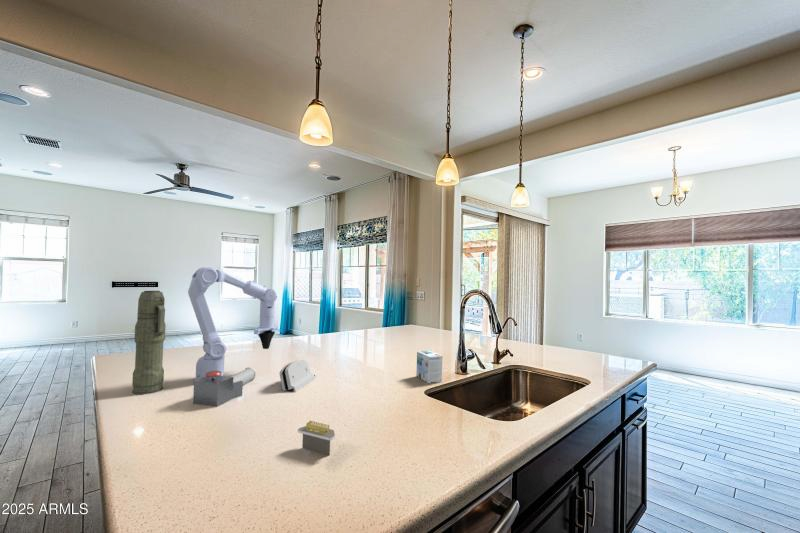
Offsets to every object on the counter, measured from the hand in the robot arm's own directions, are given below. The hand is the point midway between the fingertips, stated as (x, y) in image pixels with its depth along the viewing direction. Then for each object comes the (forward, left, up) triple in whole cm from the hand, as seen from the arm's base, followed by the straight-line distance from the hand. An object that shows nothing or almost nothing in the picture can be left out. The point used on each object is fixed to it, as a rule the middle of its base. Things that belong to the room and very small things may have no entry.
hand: (265, 348), depth 149 cm
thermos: (-25, -32, -10) cm, 42 cm away
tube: (+3, -25, -10) cm, 27 cm away
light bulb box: (+69, +11, -10) cm, 71 cm away
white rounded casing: (+21, -11, -10) cm, 26 cm away
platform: (+51, -54, -11) cm, 75 cm away
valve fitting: (+4, -33, -10) cm, 34 cm away
